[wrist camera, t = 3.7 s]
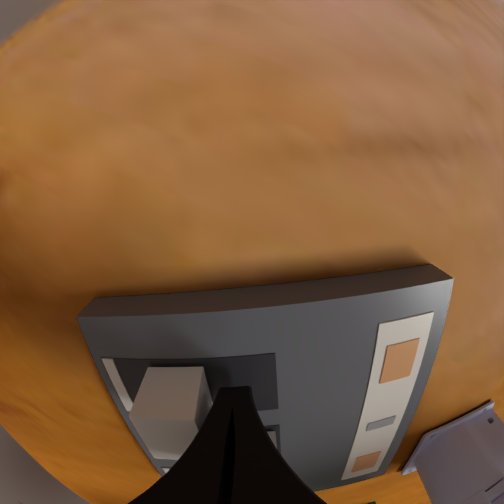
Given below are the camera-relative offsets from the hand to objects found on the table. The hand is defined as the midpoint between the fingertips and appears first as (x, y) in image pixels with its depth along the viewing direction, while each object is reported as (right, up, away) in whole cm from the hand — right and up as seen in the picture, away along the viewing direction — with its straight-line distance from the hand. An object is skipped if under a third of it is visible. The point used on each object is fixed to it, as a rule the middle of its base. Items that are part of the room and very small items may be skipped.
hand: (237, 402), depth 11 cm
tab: (-2, 0, +1) cm, 3 cm away
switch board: (+2, -4, +4) cm, 6 cm away
